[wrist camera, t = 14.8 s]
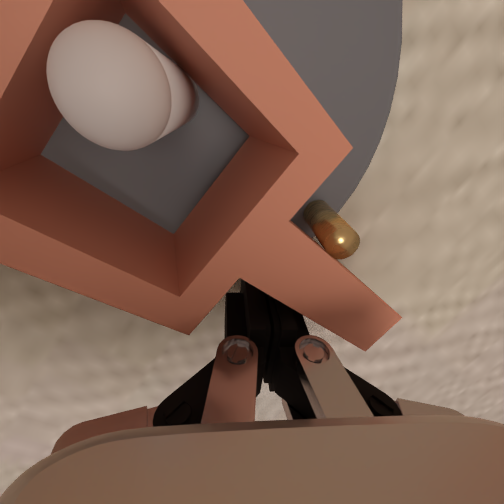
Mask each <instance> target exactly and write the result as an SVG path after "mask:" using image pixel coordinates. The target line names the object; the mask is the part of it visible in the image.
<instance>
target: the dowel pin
mask: <svg viewBox="0 0 504 504" xmlns="http://www.w3.org/2000/svg"><path fill="white" fill-rule="evenodd" d="M304 219H305V221H306V222H307V224H308V225H309V227H310V228H311V230H312V231H313V233H314V234H315V236H316V237H317V239H318V240H319V242H320V243H321V245H322V246H323V248H324V249H325V251H326V252H327V253H328V254H329V255H330V256H331V257H333V258H334V259H344V258H347V257H349V256H351V255H352V254H353V253H354V252H355V251H356V250H357V248H358V246H359V243H360V238H359V235H358V234H357V233H356V232H355V231H354V230H353V229H352V228H351V227H350V226H349V225H348V224H347V223H346V222H345V221H344V220H343V219H342V218H341V217H340V216H339V215H338V214H337V213H336V212H335V211H334V210H333V209H332V208H331V207H330V206H329V205H328V204H327V203H326V202H325V201H323V200H315V201H312V202H311V203H309V204H308V205H307V206H306V208H305V210H304Z"/></svg>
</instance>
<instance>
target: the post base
mask: <svg viewBox="0 0 504 504" xmlns="http://www.w3.org/2000/svg"><path fill="white" fill-rule="evenodd" d="M243 1H244V2H245V4H246V5H247V6H248V8H249V9H250V10H251V12H252V13H253V14H254V16H255V17H256V18H257V20H258V21H259V22H260V24H261V25H262V26H263V28H264V29H265V31H266V32H267V33H268V35H269V36H270V37H271V39H272V40H273V41H274V43H275V44H276V45H277V47H278V48H279V49H280V51H281V52H282V53H283V55H284V56H285V57H286V59H287V60H288V61H289V63H290V64H291V65H292V67H293V68H294V69H295V71H296V72H297V73H298V75H299V76H300V77H301V79H302V80H303V81H304V83H305V84H306V85H307V87H308V88H309V89H310V91H311V92H312V93H313V95H314V96H315V97H316V99H317V100H318V101H319V103H320V104H321V105H322V107H323V108H324V110H325V111H326V112H327V114H328V115H329V116H330V118H331V119H332V120H333V122H334V123H335V124H336V126H337V127H338V128H339V130H340V131H341V132H342V134H343V135H344V136H345V138H346V139H347V140H348V142H349V143H350V144H351V146H352V147H353V149H352V150H351V151H350V152H349V153H348V154H347V156H346V157H345V158H344V159H343V160H342V161H341V162H340V164H339V165H338V166H337V167H336V168H335V169H334V170H333V172H332V173H331V174H330V175H329V176H328V177H327V178H326V180H325V181H324V182H323V183H322V184H321V185H320V186H319V188H318V189H317V190H316V191H315V192H314V193H313V194H312V195H311V197H310V198H309V199H308V200H307V201H306V202H305V203H304V205H303V206H302V207H301V208H300V209H299V210H298V211H297V213H296V214H295V215H294V216H293V217H292V218H291V219H290V220H291V221H292V222H293V223H294V224H295V225H297V226H298V227H299V228H300V229H301V230H302V231H304V232H305V233H306V234H307V235H308V236H309V237H311V238H313V237H314V236H315V234H314V233H313V231H312V230H311V228H310V227H309V225H308V224H307V222H306V221H305V219H304V210H305V208H306V206H307V205H308V204H309V203H311V202H312V201H315V200H323V201H325V202H326V203H327V204H328V205H329V206H330V207H331V208H332V209H333V210H334V211H335V212H336V213H338V212H339V211H340V209H341V208H342V207H343V205H344V204H345V203H346V201H347V200H348V198H349V197H350V196H351V194H352V193H353V192H354V190H355V189H356V187H357V185H358V184H359V182H360V180H361V178H362V177H363V175H364V173H365V172H366V170H367V168H368V166H369V164H370V162H371V160H372V158H373V155H374V153H375V151H376V149H377V147H378V144H379V142H380V140H381V137H382V134H383V131H384V128H385V125H386V122H387V119H388V116H389V113H390V109H391V104H392V100H393V95H394V91H395V86H396V82H397V77H398V69H399V60H400V52H401V43H402V0H243ZM46 73H47V81H48V86H49V90H50V93H51V96H52V98H53V100H54V102H55V104H56V106H57V108H58V109H59V111H60V113H61V114H62V115H63V118H62V120H61V121H60V123H59V125H58V126H57V128H56V130H55V131H54V133H53V135H52V136H51V138H50V140H49V141H48V143H47V145H46V146H45V148H44V150H43V151H42V153H41V155H42V156H44V157H46V158H47V159H49V160H51V161H52V162H54V163H56V164H57V165H59V166H61V167H62V168H64V169H66V170H67V171H69V172H71V173H72V174H74V175H76V176H77V177H79V178H81V179H82V180H84V181H86V182H87V183H89V184H91V185H92V186H94V187H96V188H97V189H99V190H101V191H102V192H104V193H106V194H107V195H109V196H111V197H113V198H114V199H116V200H118V201H119V202H121V203H123V204H124V205H126V206H128V207H129V208H131V209H133V210H134V211H136V212H138V213H139V214H141V215H143V216H144V217H146V218H148V219H149V220H151V221H153V222H154V223H156V224H158V225H159V226H161V227H163V228H164V229H166V230H168V231H169V232H171V233H173V234H174V233H175V232H176V231H177V229H178V228H179V227H180V225H181V224H182V223H183V222H184V220H185V219H186V218H187V216H188V215H189V214H190V213H191V211H192V210H193V209H194V207H195V206H196V205H197V203H198V202H199V201H200V200H201V198H202V197H203V196H204V194H205V193H206V192H207V191H208V189H209V188H210V187H211V185H212V184H213V183H214V182H215V180H216V179H217V178H218V176H219V175H220V174H221V173H222V171H223V170H224V169H225V167H226V166H227V165H228V163H229V162H230V161H231V160H232V158H233V157H234V156H235V154H236V153H237V152H238V151H239V149H240V148H241V147H242V145H243V144H244V143H245V142H246V140H247V139H248V138H249V135H248V134H247V133H246V132H245V131H244V130H243V129H242V128H241V127H240V126H239V125H238V124H237V123H236V122H235V121H234V120H233V119H232V118H231V117H230V116H229V115H228V114H227V113H226V112H225V111H224V110H223V109H222V108H221V107H220V106H219V105H218V104H217V103H216V102H215V101H214V100H213V99H212V98H211V97H210V96H209V95H208V94H207V93H206V92H205V91H204V90H203V89H202V88H201V87H200V86H199V85H197V84H196V83H195V82H194V81H193V80H192V79H191V78H190V77H189V76H188V75H187V74H186V73H185V71H184V70H182V69H181V68H180V67H179V66H178V65H177V64H176V63H175V62H174V61H173V60H172V59H171V58H170V57H169V56H168V55H167V54H166V53H165V52H164V51H163V50H162V49H161V48H160V47H159V46H158V45H157V44H156V43H155V42H154V41H153V40H152V39H151V38H150V37H149V36H148V35H147V34H146V33H145V32H144V31H143V30H142V29H141V28H140V27H139V26H138V25H137V24H136V23H135V22H134V21H133V20H132V19H131V18H130V17H129V16H128V15H127V14H126V13H125V14H124V16H123V18H122V19H121V21H120V23H119V24H115V23H112V22H109V21H103V20H85V21H80V22H77V23H74V24H72V25H71V26H69V27H67V28H66V29H64V30H63V31H62V32H61V33H60V34H59V35H58V36H57V37H56V39H55V40H54V42H53V43H52V45H51V48H50V51H49V54H48V58H47V67H46Z"/></svg>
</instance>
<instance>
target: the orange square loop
mask: <svg viewBox="0 0 504 504" xmlns="http://www.w3.org/2000/svg"><path fill="white" fill-rule="evenodd" d="M125 13H126V14H127V15H128V16H129V17H130V18H131V19H132V20H133V21H134V22H135V23H136V24H137V25H138V26H139V27H140V28H141V29H142V30H143V31H144V32H145V33H146V34H147V35H148V36H149V37H150V38H151V39H152V40H153V41H154V42H155V43H156V44H157V45H158V46H159V47H160V48H161V49H162V50H163V51H164V52H165V53H166V54H167V55H168V56H169V57H170V58H171V59H172V60H173V61H174V62H175V63H176V64H177V65H178V66H179V67H180V68H181V69H182V70H184V71H185V73H186V74H187V75H188V76H189V77H190V78H191V79H192V80H193V81H194V82H195V83H196V84H197V85H199V86H200V87H201V88H202V89H203V90H204V91H205V92H206V93H207V94H208V95H209V96H210V97H211V98H212V99H213V100H214V101H215V102H216V103H217V104H218V105H219V106H220V107H221V108H222V109H223V110H224V111H225V112H226V113H227V114H228V115H229V116H230V117H231V118H232V119H233V120H234V121H235V122H236V123H237V124H238V125H239V126H240V127H241V128H242V129H243V130H244V131H245V132H246V133H247V134H248V135H249V138H248V139H247V140H246V142H245V143H244V144H243V145H242V147H241V148H240V149H239V151H238V152H237V153H236V154H235V156H234V157H233V158H232V160H231V161H230V162H229V163H228V165H227V166H226V167H225V169H224V170H223V171H222V173H221V174H220V175H219V176H218V178H217V179H216V180H215V182H214V183H213V184H212V185H211V187H210V188H209V189H208V191H207V192H206V193H205V194H204V196H203V197H202V198H201V200H200V201H199V202H198V203H197V205H196V206H195V207H194V209H193V210H192V211H191V213H190V214H189V215H188V216H187V218H186V219H185V220H184V222H183V223H182V224H181V225H180V227H179V228H178V229H177V231H176V232H175V233H174V234H173V233H171V232H169V231H168V230H166V229H164V228H163V227H161V226H159V225H158V224H156V223H154V222H153V221H151V220H149V219H148V218H146V217H144V216H143V215H141V214H139V213H138V212H136V211H134V210H133V209H131V208H129V207H128V206H126V205H124V204H123V203H121V202H119V201H118V200H116V199H114V198H113V197H111V196H109V195H107V194H106V193H104V192H102V191H101V190H99V189H97V188H96V187H94V186H92V185H91V184H89V183H87V182H86V181H84V180H82V179H81V178H79V177H77V176H76V175H74V174H72V173H71V172H69V171H67V170H66V169H64V168H62V167H61V166H59V165H57V164H56V163H54V162H52V161H51V160H49V159H47V158H46V157H44V156H42V155H41V153H42V151H43V150H44V148H45V146H46V145H47V143H48V141H49V140H50V138H51V136H52V135H53V133H54V131H55V130H56V128H57V126H58V125H59V123H60V121H61V120H62V118H63V115H62V114H61V113H60V111H59V109H58V108H57V106H56V104H55V102H54V100H53V98H52V96H51V93H50V90H49V86H48V81H47V73H46V67H47V58H48V54H49V51H50V48H51V45H52V43H53V42H54V40H55V39H56V37H57V36H58V35H59V34H60V33H61V32H62V31H63V30H64V29H66V28H67V27H69V26H71V25H72V24H74V23H77V22H80V21H85V20H103V21H109V22H112V23H115V24H119V23H120V21H121V19H122V18H123V16H124V14H125ZM352 149H353V147H352V146H351V144H350V143H349V142H348V140H347V139H346V138H345V136H344V135H343V134H342V132H341V131H340V130H339V128H338V127H337V126H336V124H335V123H334V122H333V120H332V119H331V118H330V116H329V115H328V114H327V112H326V111H325V110H324V108H323V107H322V105H321V104H320V103H319V101H318V100H317V99H316V97H315V96H314V95H313V93H312V92H311V91H310V89H309V88H308V87H307V85H306V84H305V83H304V81H303V80H302V79H301V77H300V76H299V75H298V73H297V72H296V71H295V69H294V68H293V67H292V65H291V64H290V63H289V61H288V60H287V59H286V57H285V56H284V55H283V53H282V52H281V51H280V49H279V48H278V47H277V45H276V44H275V43H274V41H273V40H272V39H271V37H270V36H269V35H268V33H267V32H266V31H265V29H264V28H263V26H262V25H261V24H260V22H259V21H258V20H257V18H256V17H255V16H254V14H253V13H252V12H251V10H250V9H249V8H248V6H247V5H246V4H245V2H244V1H243V0H0V264H3V265H6V266H8V267H11V268H14V269H16V270H19V271H21V272H24V273H27V274H29V275H32V276H35V277H37V278H40V279H42V280H45V281H48V282H50V283H53V284H56V285H58V286H61V287H63V288H66V289H69V290H71V291H74V292H77V293H79V294H82V295H84V296H87V297H90V298H92V299H95V300H98V301H100V302H103V303H105V304H108V305H111V306H113V307H116V308H119V309H121V310H124V311H126V312H129V313H132V314H134V315H137V316H140V317H142V318H145V319H147V320H150V321H153V322H155V323H158V324H161V325H163V326H166V327H168V328H171V329H174V330H176V331H179V332H182V333H184V334H187V335H190V333H191V332H192V331H193V330H194V329H195V328H196V327H197V325H198V324H199V323H200V322H201V321H202V320H203V319H204V318H205V316H206V315H207V314H208V313H209V312H210V311H211V310H212V308H213V307H214V306H215V305H216V304H217V303H218V302H219V300H220V299H221V298H222V297H223V296H224V295H225V294H226V292H227V291H228V290H229V289H230V288H231V287H232V286H233V284H234V283H235V282H236V281H237V280H238V279H239V278H241V279H243V280H244V281H246V282H248V283H249V284H251V285H253V286H255V287H256V288H258V289H260V290H261V291H263V292H265V293H266V294H268V295H270V296H272V297H273V298H275V299H277V300H278V301H280V302H282V303H284V304H285V305H287V306H289V307H290V308H292V309H294V310H295V311H297V312H299V313H301V314H302V315H304V316H306V317H307V318H309V319H311V320H313V321H314V322H316V323H318V324H319V325H321V326H323V327H324V328H326V329H328V330H330V331H331V332H333V333H335V334H336V335H338V336H340V337H342V338H343V339H345V340H347V341H348V342H350V343H352V344H353V345H355V346H357V347H359V348H360V349H362V350H364V351H366V350H367V349H369V348H370V347H371V346H372V345H373V344H374V343H375V342H376V341H377V340H378V339H379V338H381V337H382V336H383V335H384V334H385V333H386V332H387V331H388V330H389V329H390V328H391V327H392V326H394V325H395V324H396V323H397V322H398V321H399V320H400V319H401V318H402V317H401V316H400V315H399V314H398V313H397V312H395V311H394V310H393V309H392V308H391V307H390V306H389V305H388V304H386V303H385V302H384V301H383V300H382V299H381V298H380V297H378V296H377V295H376V294H375V293H374V292H373V291H372V290H371V289H369V288H368V287H367V286H366V285H365V284H364V283H363V282H361V281H360V280H359V279H358V278H357V277H356V276H355V275H354V274H352V273H351V272H350V271H349V270H348V269H347V268H346V267H344V266H343V265H342V264H341V263H340V262H339V261H338V260H336V259H334V258H333V257H331V256H330V255H329V254H328V253H327V252H326V251H325V249H323V248H322V247H321V246H320V245H319V244H318V243H316V242H315V241H314V240H313V239H312V238H311V237H309V236H308V235H307V234H306V233H305V232H304V231H302V230H301V229H300V228H299V227H298V226H297V225H295V224H294V223H293V222H292V221H291V220H290V219H291V218H292V217H293V216H294V215H295V214H296V213H297V211H298V210H299V209H300V208H301V207H302V206H303V205H304V203H305V202H306V201H307V200H308V199H309V198H310V197H311V195H312V194H313V193H314V192H315V191H316V190H317V189H318V188H319V186H320V185H321V184H322V183H323V182H324V181H325V180H326V178H327V177H328V176H329V175H330V174H331V173H332V172H333V170H334V169H335V168H336V167H337V166H338V165H339V164H340V162H341V161H342V160H343V159H344V158H345V157H346V156H347V154H348V153H349V152H350V151H351V150H352Z"/></svg>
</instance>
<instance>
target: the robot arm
mask: <svg viewBox="0 0 504 504" xmlns="http://www.w3.org/2000/svg"><path fill="white" fill-rule="evenodd" d="M262 379H264V383H269V390H270V391H275V393H276V394H278V395H279V396H280V397H281V398H282V405H283V408H284V411H285V414H286V417H287V420H275V421H254V420H255V402H256V397H257V396H258V394H259V393H260V390H261V384H262ZM0 504H504V424H501V423H498V422H494V421H490V420H485V419H481V418H475V417H467V416H464V415H463V414H461V413H459V412H458V411H456V410H453V409H450V408H445V407H440V406H435V405H430V404H425V403H420V402H415V401H410V400H405V399H400V398H397V400H396V401H394V400H393V399H392V398H390V397H389V396H388V395H387V394H385V393H384V392H382V391H381V390H379V389H377V388H376V387H374V386H373V385H371V384H370V383H368V382H367V381H365V380H363V379H362V378H360V377H359V376H357V375H356V374H354V373H352V372H351V371H349V370H348V369H346V368H345V367H344V366H343V365H342V363H341V362H340V360H339V358H338V357H337V355H336V353H335V352H334V350H333V349H332V347H331V346H330V345H329V343H327V342H326V341H325V340H324V339H322V338H319V337H317V336H313V335H309V332H308V329H307V326H306V324H305V321H304V318H303V315H302V314H301V313H299V312H297V311H295V310H294V309H292V308H290V307H289V306H287V305H285V304H284V303H282V302H280V301H278V300H277V299H275V298H273V297H272V296H270V295H268V294H266V293H265V292H263V291H261V290H260V289H258V288H256V287H255V286H253V285H251V284H249V283H248V282H246V281H244V280H243V279H241V290H240V293H226V302H225V339H223V340H222V342H221V343H220V344H219V346H218V348H217V353H216V357H215V359H213V360H212V361H211V362H210V363H208V364H207V365H206V366H205V367H204V368H202V369H201V370H200V371H199V372H197V373H196V374H195V375H194V376H193V377H191V378H190V379H189V380H188V381H187V382H185V383H184V384H183V385H182V386H180V387H179V388H178V389H177V390H176V391H174V392H173V393H172V394H171V395H169V396H168V397H167V398H166V399H165V400H163V402H162V403H161V404H160V405H159V406H157V407H153V408H149V409H147V406H145V407H141V408H137V409H133V410H129V411H125V412H121V413H117V414H113V415H109V416H105V417H101V418H97V419H93V420H89V421H85V422H82V423H79V424H77V425H74V426H72V427H71V428H70V429H68V430H67V431H66V432H64V433H63V434H62V436H61V437H60V438H59V439H58V440H57V442H56V444H55V446H54V448H53V450H52V453H51V455H50V456H48V457H46V458H44V459H42V460H41V461H39V462H37V463H36V464H35V465H33V466H32V467H30V468H29V469H27V470H26V471H25V472H24V473H22V474H21V475H20V476H19V477H18V478H17V479H16V480H15V481H14V482H13V483H12V484H11V485H10V486H9V487H8V488H7V489H6V490H5V492H4V493H3V494H2V495H1V497H0Z"/></svg>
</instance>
